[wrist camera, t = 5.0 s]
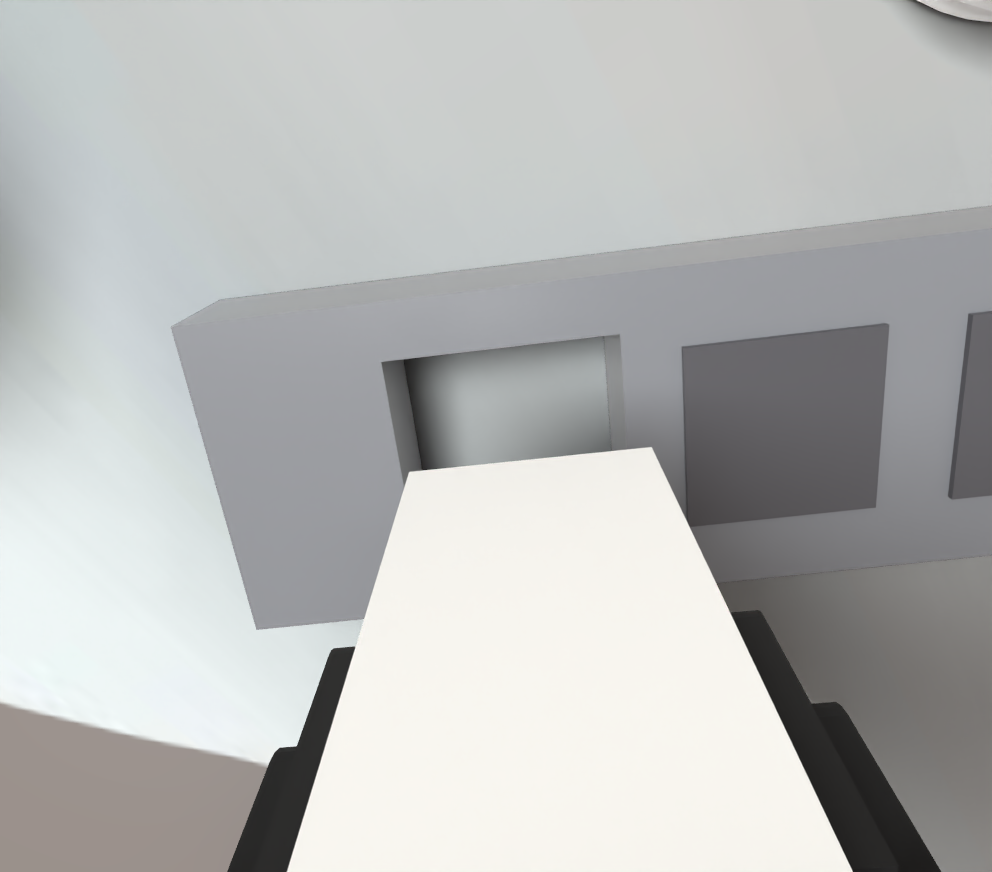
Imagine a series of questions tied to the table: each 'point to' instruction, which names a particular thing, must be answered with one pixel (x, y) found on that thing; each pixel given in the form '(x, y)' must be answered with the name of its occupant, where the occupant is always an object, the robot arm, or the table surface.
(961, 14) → the coaster
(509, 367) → the table surface
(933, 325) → the power strip
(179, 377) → the table surface
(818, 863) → the charger
